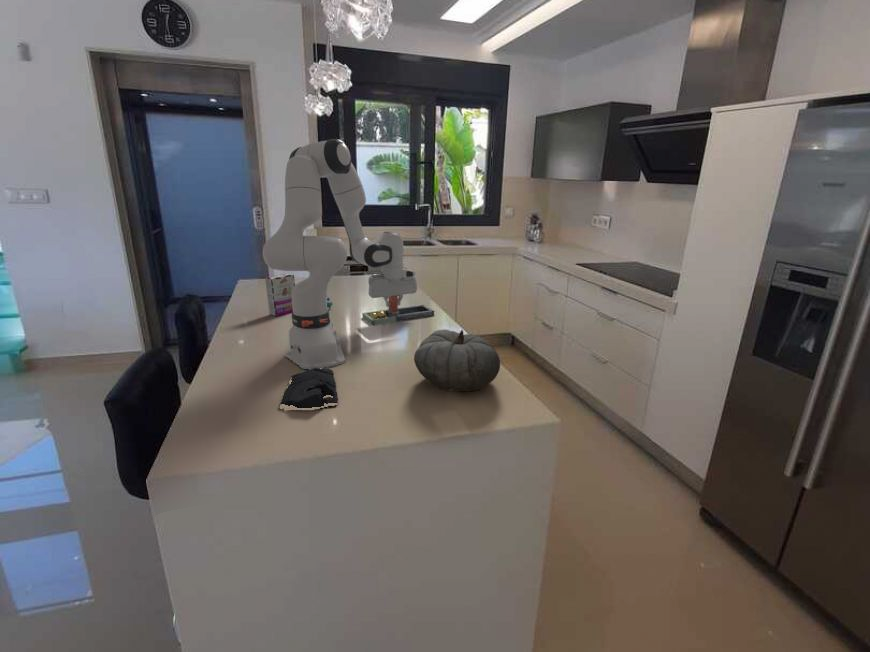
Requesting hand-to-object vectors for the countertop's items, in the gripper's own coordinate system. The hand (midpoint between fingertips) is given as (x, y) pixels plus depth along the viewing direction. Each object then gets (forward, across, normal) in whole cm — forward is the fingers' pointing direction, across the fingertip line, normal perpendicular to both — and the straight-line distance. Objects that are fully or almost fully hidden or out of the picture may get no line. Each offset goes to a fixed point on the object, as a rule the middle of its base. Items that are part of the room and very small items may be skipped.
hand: (393, 305), depth 186 cm
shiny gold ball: (+5, -9, 0) cm, 11 cm away
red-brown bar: (+4, 0, 0) cm, 4 cm away
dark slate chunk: (+7, -47, -48) cm, 67 cm away
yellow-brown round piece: (+5, -6, 0) cm, 8 cm away
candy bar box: (+6, -38, +30) cm, 49 cm away
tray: (+6, -5, 0) cm, 8 cm away
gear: (+6, -23, +26) cm, 35 cm away
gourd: (+6, -7, -62) cm, 62 cm away
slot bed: (+6, +8, 0) cm, 10 cm away
